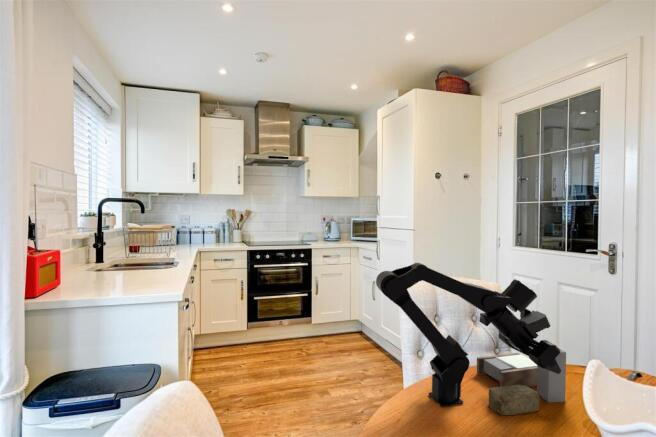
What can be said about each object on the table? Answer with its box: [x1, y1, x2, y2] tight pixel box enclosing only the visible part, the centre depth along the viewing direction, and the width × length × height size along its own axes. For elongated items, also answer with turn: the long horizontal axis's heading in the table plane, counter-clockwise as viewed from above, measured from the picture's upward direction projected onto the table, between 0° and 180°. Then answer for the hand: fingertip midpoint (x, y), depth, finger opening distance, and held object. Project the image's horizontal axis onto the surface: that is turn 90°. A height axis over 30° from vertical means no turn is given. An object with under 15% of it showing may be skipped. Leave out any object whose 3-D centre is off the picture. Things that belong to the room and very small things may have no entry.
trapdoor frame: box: [476, 352, 537, 388], centre depth 106 cm, size 15×11×5 cm
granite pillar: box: [536, 348, 567, 403], centre depth 96 cm, size 5×5×13 cm
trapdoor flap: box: [484, 353, 537, 382], centre depth 106 cm, size 14×8×4 cm, turn 106°
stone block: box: [488, 384, 541, 416], centre depth 90 cm, size 6×12×5 cm, turn 104°
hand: (547, 364), depth 96 cm, fingers open, 9 cm apart
